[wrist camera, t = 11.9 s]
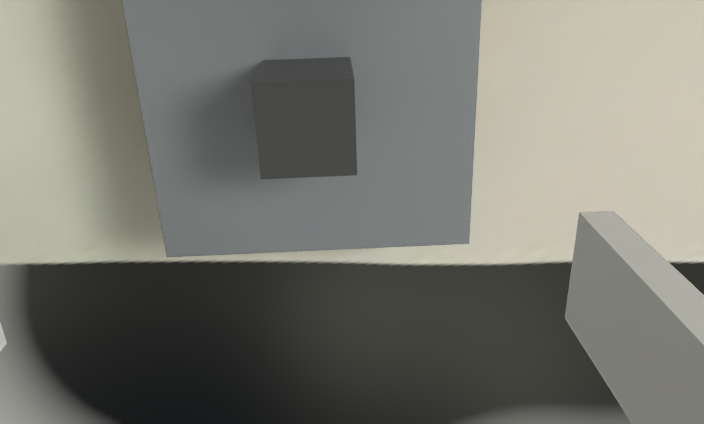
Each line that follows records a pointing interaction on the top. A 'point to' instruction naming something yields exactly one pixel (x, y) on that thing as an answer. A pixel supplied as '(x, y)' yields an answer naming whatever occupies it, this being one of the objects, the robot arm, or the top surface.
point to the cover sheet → (386, 122)
